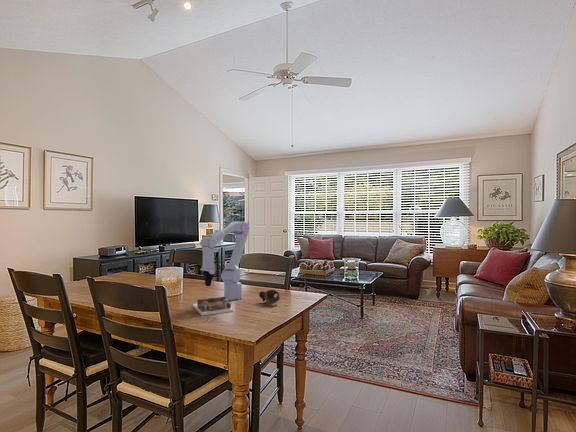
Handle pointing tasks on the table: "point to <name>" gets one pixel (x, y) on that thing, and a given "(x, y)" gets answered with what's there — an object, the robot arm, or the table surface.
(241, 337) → the table surface
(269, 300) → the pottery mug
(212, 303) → the brown rectangular box
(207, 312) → the board
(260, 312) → the table surface
